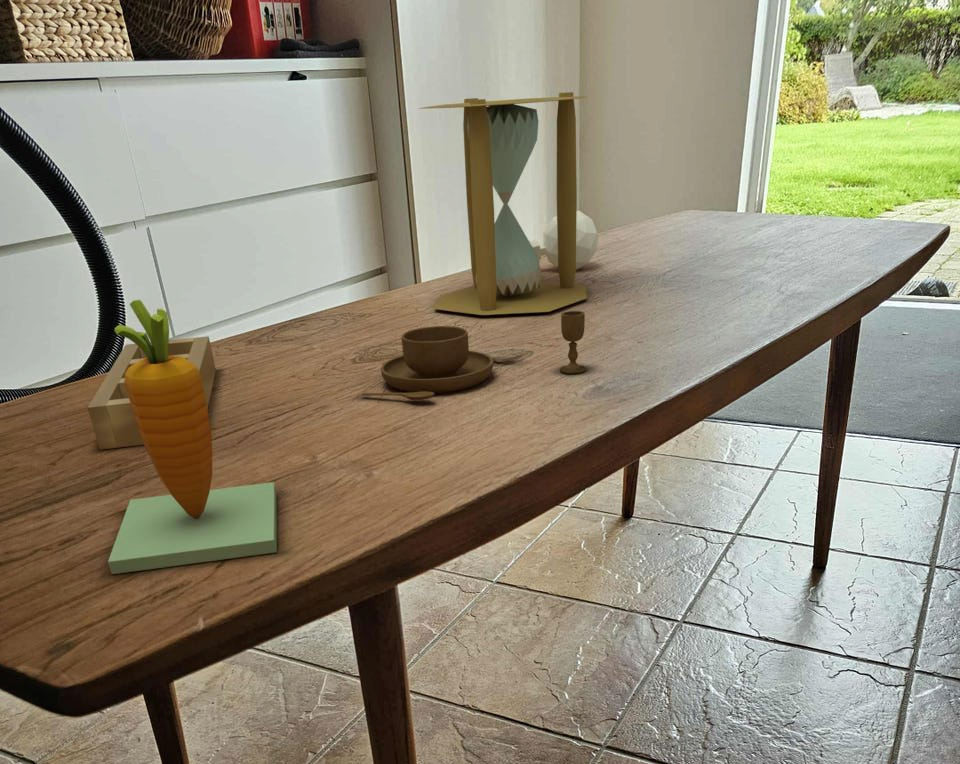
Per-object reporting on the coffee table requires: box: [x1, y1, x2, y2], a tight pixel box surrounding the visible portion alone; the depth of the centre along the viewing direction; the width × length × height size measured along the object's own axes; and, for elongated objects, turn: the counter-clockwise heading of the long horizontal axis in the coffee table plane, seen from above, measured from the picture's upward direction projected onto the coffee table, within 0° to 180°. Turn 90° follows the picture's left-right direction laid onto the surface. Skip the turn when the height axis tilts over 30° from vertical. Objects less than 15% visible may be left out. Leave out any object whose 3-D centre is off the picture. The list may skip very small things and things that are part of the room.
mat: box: [107, 481, 278, 575], centre depth 65 cm, size 11×11×1 cm
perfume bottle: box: [529, 210, 599, 271], centre depth 145 cm, size 9×9×12 cm
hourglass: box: [417, 91, 588, 316], centre depth 122 cm, size 24×22×25 cm
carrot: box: [114, 299, 213, 519], centre depth 61 cm, size 5×5×15 cm
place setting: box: [360, 310, 587, 401], centre depth 93 cm, size 18×20×6 cm
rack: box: [87, 335, 217, 451], centre depth 92 cm, size 9×24×4 cm, turn 11°
